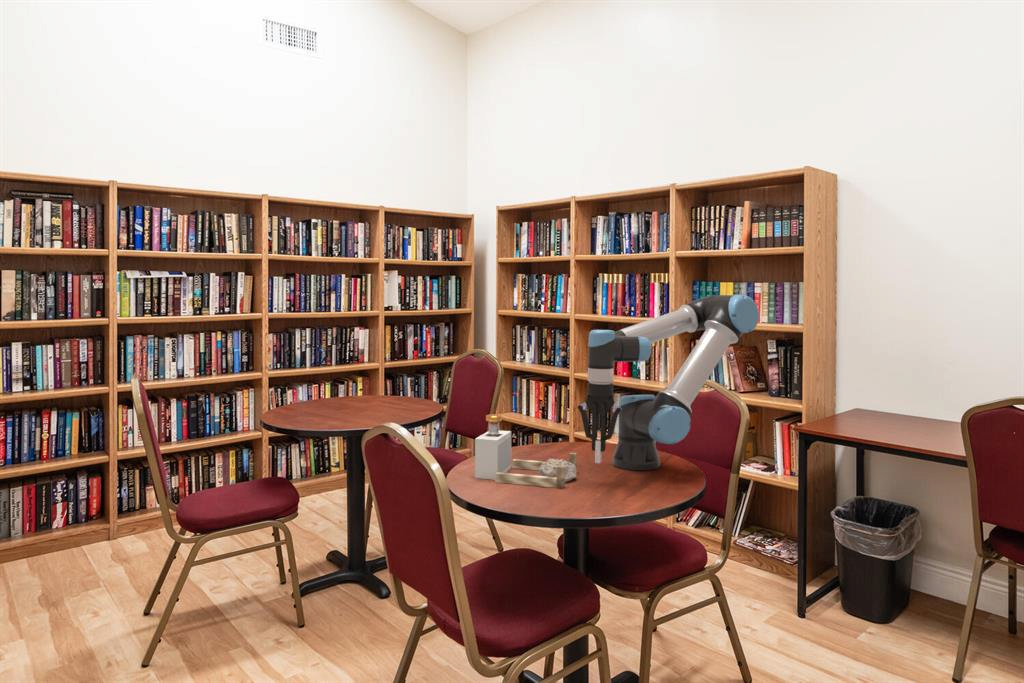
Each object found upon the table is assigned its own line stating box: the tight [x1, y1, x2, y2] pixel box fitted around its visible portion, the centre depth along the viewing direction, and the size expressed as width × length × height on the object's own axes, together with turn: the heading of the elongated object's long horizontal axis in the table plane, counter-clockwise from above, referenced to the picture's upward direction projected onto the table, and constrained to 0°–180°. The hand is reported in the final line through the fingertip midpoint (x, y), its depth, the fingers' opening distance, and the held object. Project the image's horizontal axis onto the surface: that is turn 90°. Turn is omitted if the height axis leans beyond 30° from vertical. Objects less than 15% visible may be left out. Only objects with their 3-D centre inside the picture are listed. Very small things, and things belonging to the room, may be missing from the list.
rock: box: [537, 458, 578, 483], centre depth 199 cm, size 11×11×6 cm
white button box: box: [474, 429, 512, 481], centre depth 205 cm, size 7×14×12 cm, turn 163°
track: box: [494, 452, 578, 489], centre depth 201 cm, size 20×19×6 cm
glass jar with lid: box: [485, 413, 503, 437], centre depth 204 cm, size 5×5×8 cm
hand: (598, 461), depth 195 cm, fingers closed
